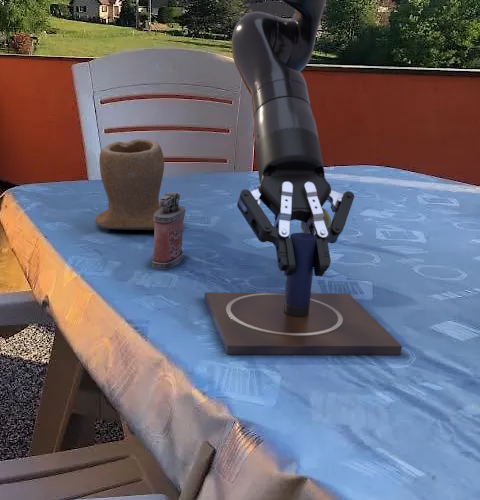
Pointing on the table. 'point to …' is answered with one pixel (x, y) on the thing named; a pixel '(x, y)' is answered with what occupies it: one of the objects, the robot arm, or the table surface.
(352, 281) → the table surface
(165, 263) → the lighter
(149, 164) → the stone cup
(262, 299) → the brown wooden board
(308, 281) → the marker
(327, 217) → the lime
